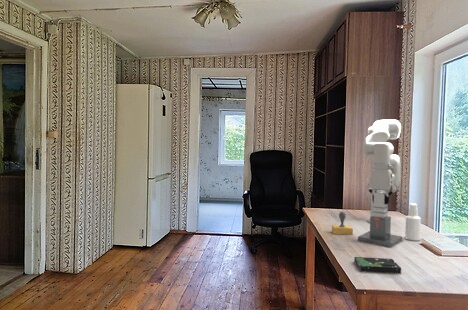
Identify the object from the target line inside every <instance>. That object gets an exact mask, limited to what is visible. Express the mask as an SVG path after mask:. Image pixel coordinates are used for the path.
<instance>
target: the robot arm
mask: <svg viewBox="0 0 468 310" xmlns="http://www.w3.org/2000/svg"><path fill="white" fill-rule="evenodd" d="M401 130H402V126H401V122H400V121H399V120H397V119H380V120H379V119H377V120H376V121H375V122H374V123H373V124H372V126H369V127H368V129H367V136H366V137H365V138H364V140H363V141H364V142H363V150H362V151H363V154H364V155H365V156H366V157H369V158H370V157H371V160H372V161H371V163H372V164H371V165H372V169H371V172H370V174H369V176H368V177H369V183H368V184H367V185H366V187H365V189H366V190H367V191H368V192H370V214H369V215H370V216H369V217H371V216H374V192H377V191H378V192H385V193H386V196H385V205H387V204H388V205H389V203H390V196H391V195H393V194H394V193H396V192H397V188H399V187H400V186H401V180H402V172H401V171H402V170H401V169H402V167H401V165H402V164H401V158H400V155H398V154H393V153H394V149H395V148H394V146H393V144H392V143H391V142H388V141H389V140H397V139H398V138H399V137H400V134H401ZM367 222H368V223H370V218H368V219H367Z"/></svg>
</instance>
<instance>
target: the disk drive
mask: <svg viewBox="0 0 468 310" xmlns="http://www.w3.org/2000/svg"><path fill="white" fill-rule="evenodd" d="M355 263H356V264H355ZM354 264H355V266H356V267H357V269H358V268H359V269H358V270H359V272H364V271H366V273H367V272H369V273H384V274H385V273H386V274H402V268H401V266H400V265H399V264H398V263H397V262H395V260H394V259H393V258H384V257H383V258H382V257H381V258H380V257H364V256H359V257H358V256H354Z"/></svg>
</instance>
